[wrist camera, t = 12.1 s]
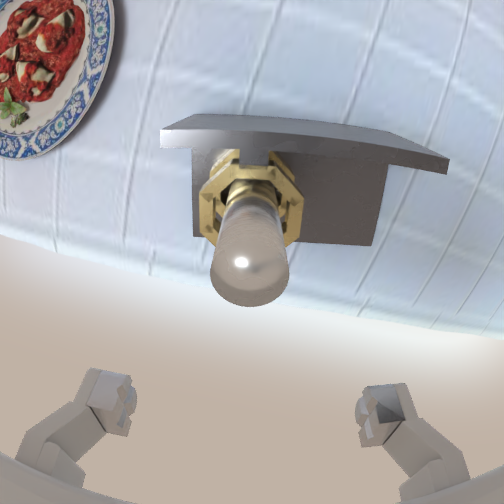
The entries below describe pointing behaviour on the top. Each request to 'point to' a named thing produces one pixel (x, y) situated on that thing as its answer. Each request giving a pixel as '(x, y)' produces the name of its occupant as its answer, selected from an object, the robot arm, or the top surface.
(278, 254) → the grey metal rod
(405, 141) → the collar stand
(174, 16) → the top surface
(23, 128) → the ceramic plate
